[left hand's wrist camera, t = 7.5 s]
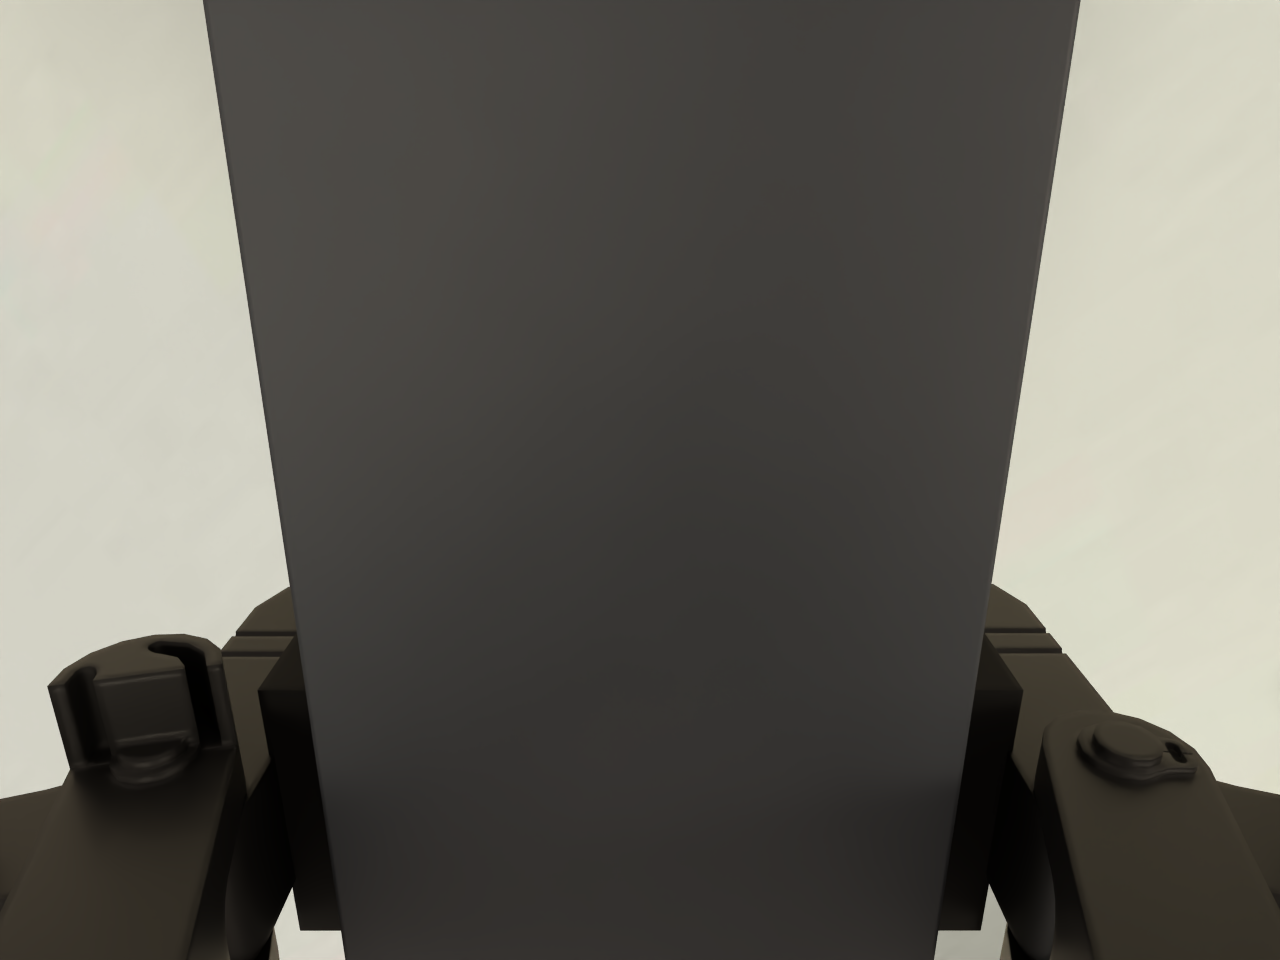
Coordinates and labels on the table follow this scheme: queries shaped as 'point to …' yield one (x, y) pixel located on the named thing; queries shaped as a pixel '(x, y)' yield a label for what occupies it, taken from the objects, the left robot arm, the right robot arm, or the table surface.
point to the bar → (640, 448)
